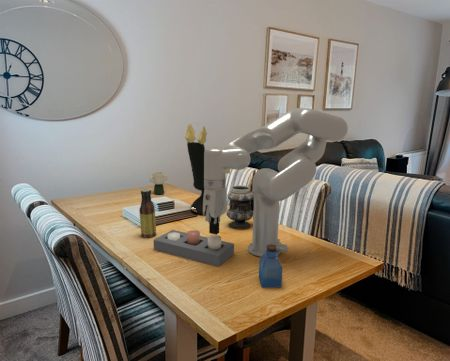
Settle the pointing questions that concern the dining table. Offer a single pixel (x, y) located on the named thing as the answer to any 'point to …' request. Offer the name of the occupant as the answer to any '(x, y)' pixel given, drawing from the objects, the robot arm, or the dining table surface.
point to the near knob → (214, 242)
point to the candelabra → (197, 163)
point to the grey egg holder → (194, 249)
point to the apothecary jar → (240, 206)
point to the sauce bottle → (147, 215)
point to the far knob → (173, 236)
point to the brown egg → (193, 237)
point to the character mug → (158, 182)
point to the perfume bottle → (270, 268)
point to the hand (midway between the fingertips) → (214, 233)
